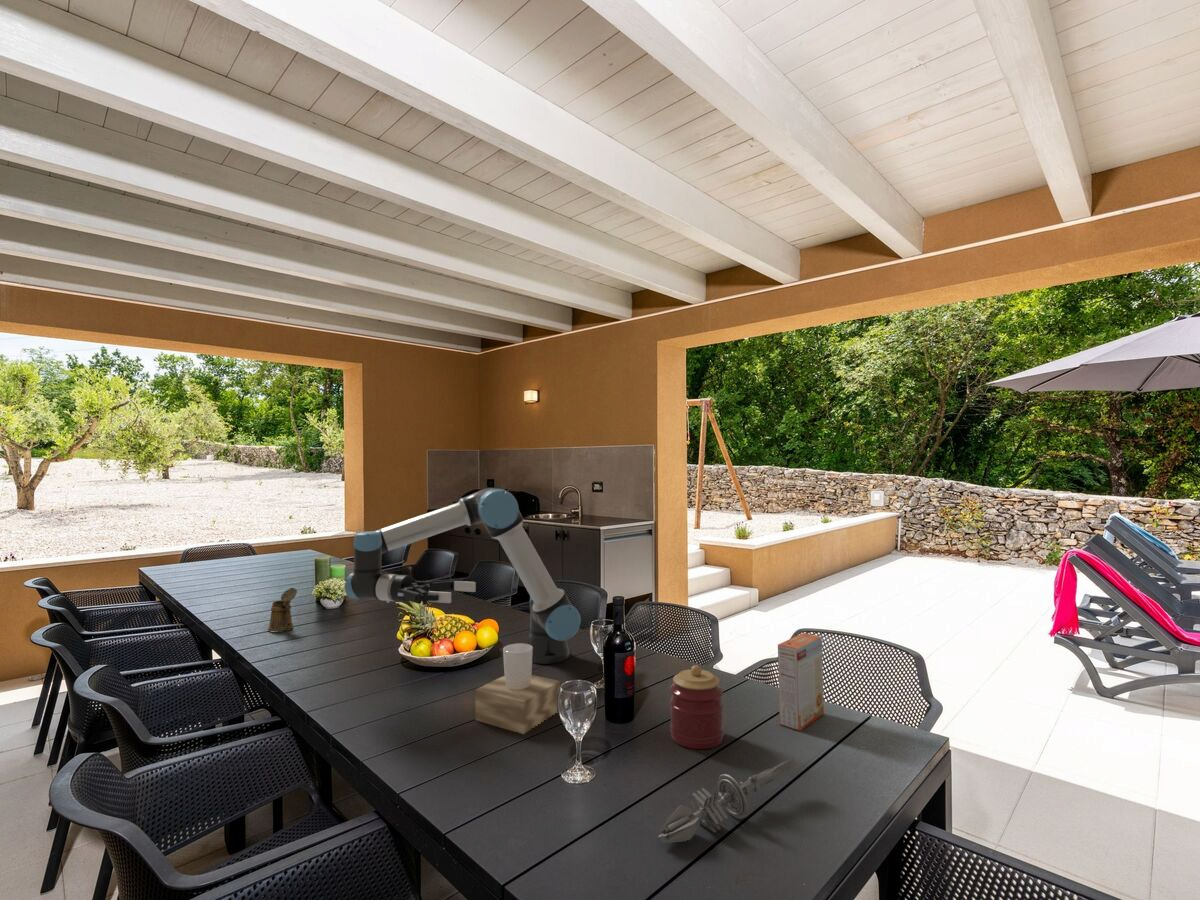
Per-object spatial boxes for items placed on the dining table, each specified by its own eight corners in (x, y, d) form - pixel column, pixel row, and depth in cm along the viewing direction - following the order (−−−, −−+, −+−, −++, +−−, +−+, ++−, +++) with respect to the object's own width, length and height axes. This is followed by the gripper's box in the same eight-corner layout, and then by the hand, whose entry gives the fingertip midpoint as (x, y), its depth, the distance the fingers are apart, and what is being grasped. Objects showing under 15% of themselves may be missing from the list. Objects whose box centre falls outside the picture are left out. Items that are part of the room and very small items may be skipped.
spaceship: (814, 761, 118) (783, 732, 125) (678, 840, 100) (650, 802, 106) (804, 790, 121) (775, 760, 127) (671, 872, 103) (644, 832, 109)
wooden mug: (280, 635, 233) (280, 589, 233) (263, 630, 240) (263, 585, 241) (302, 630, 240) (302, 585, 240) (285, 625, 248) (286, 582, 248)
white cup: (527, 692, 155) (527, 653, 155) (498, 689, 156) (498, 651, 156) (536, 680, 162) (536, 644, 162) (509, 678, 164) (509, 642, 164)
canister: (660, 731, 149) (660, 661, 149) (704, 722, 154) (703, 654, 154) (688, 755, 137) (687, 678, 137) (734, 744, 142) (733, 670, 143)
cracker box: (803, 708, 162) (802, 631, 162) (824, 715, 158) (823, 636, 158) (777, 724, 152) (776, 643, 153) (799, 732, 148) (798, 648, 148)
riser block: (514, 698, 170) (514, 670, 170) (560, 710, 162) (559, 681, 162) (475, 720, 156) (475, 689, 156) (523, 734, 148) (523, 702, 148)
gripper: (421, 591, 182) (484, 595, 176) (368, 612, 158) (439, 617, 152) (421, 567, 182) (484, 570, 176) (368, 583, 158) (439, 588, 152)
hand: (463, 592), depth 164 cm, fingers open, 13 cm apart
